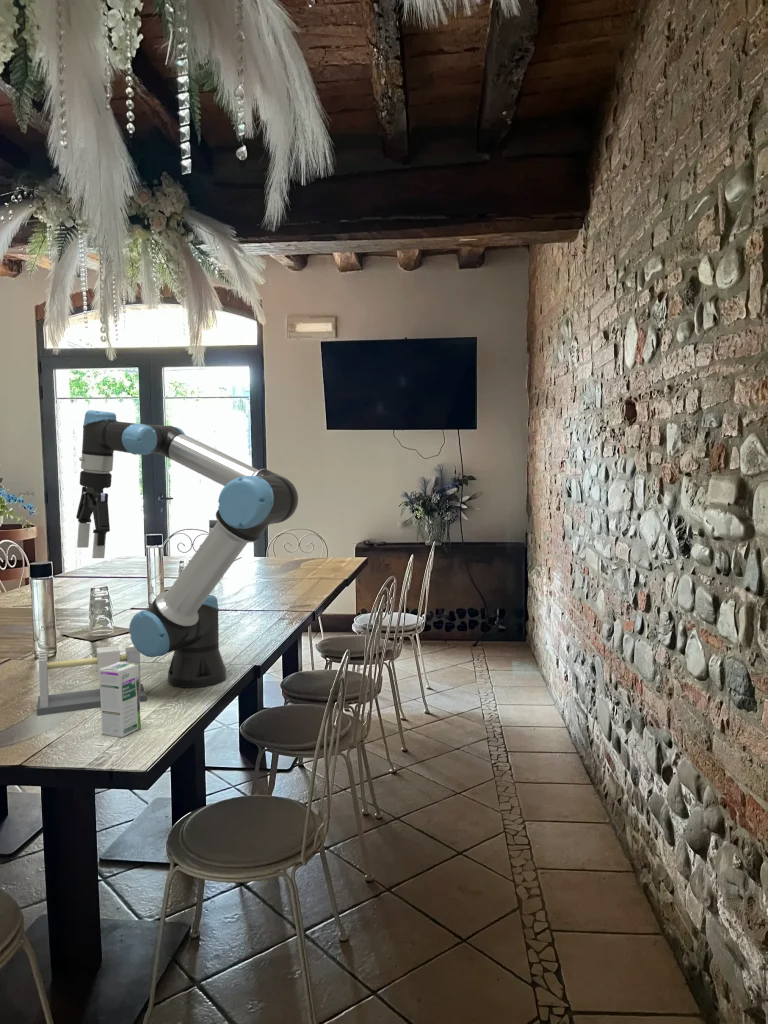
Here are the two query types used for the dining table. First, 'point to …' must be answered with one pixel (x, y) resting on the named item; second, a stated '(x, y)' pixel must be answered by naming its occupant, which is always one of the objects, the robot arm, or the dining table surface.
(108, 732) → the syrup box
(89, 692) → the cable comb board
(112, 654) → the sleeve
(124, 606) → the dining table surface
